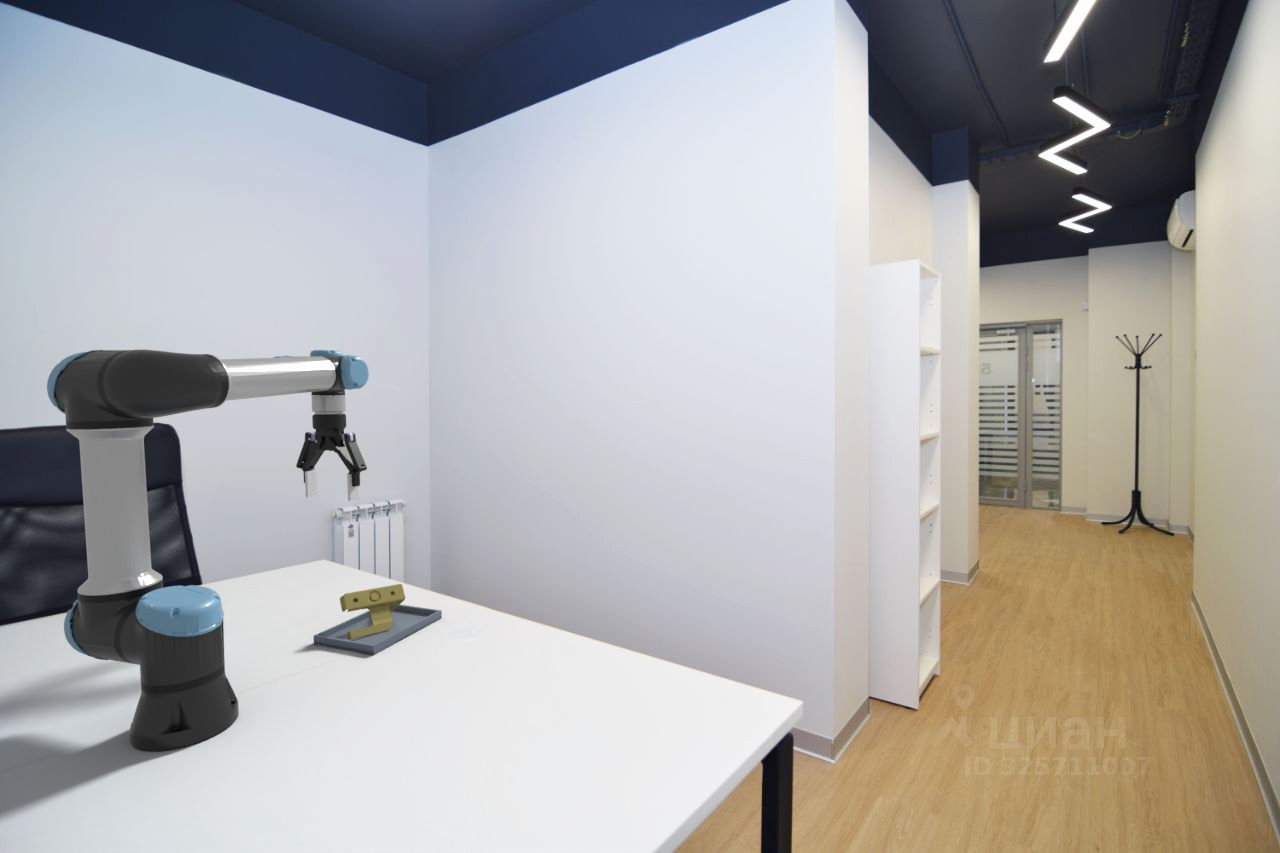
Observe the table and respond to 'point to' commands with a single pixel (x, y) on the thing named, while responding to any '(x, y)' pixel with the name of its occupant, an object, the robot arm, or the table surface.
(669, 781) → the table surface
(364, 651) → the tray
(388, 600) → the bracket
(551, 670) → the table surface
